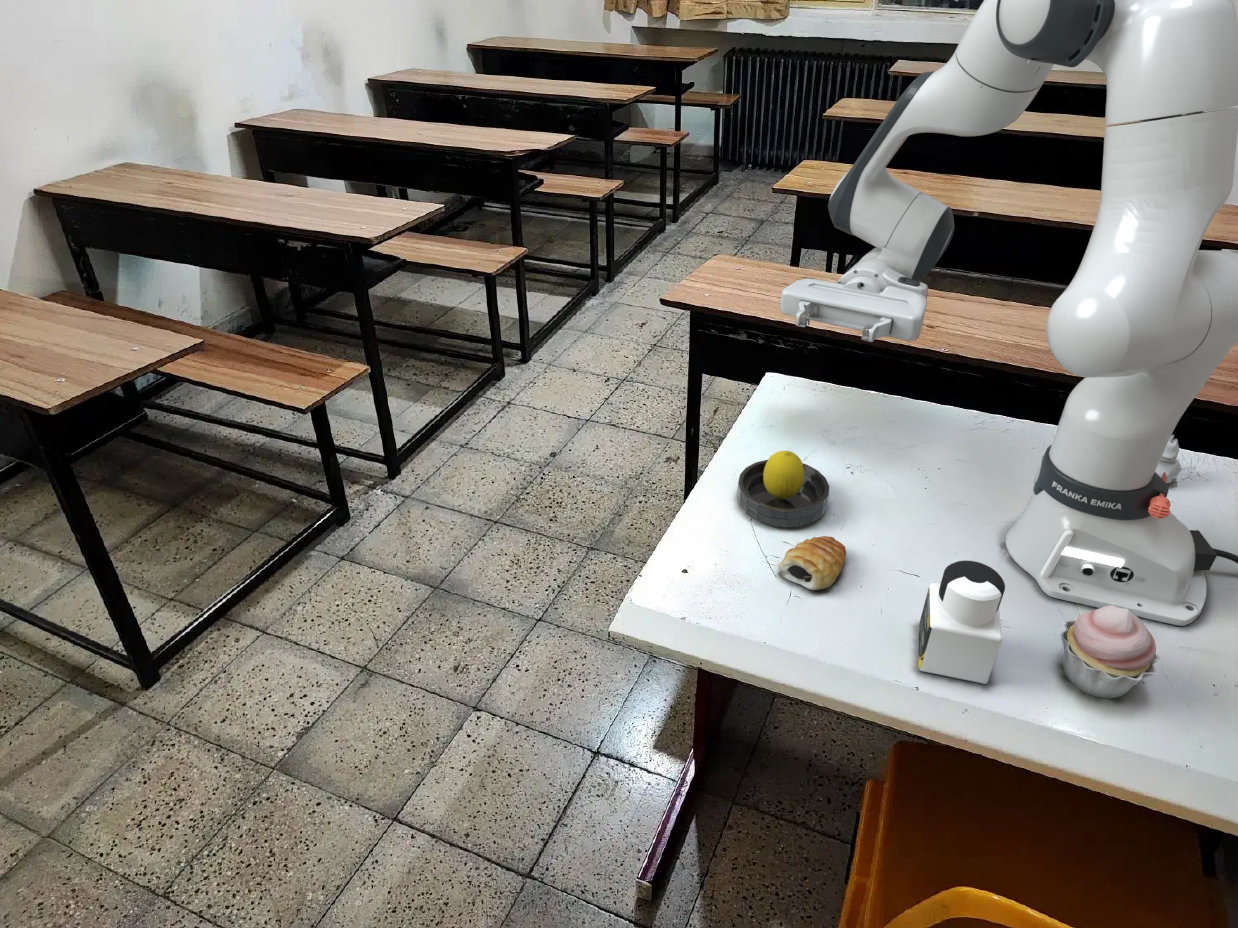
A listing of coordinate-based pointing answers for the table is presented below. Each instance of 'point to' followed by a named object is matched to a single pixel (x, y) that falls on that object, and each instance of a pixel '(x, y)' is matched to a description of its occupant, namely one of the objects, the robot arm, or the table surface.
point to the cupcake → (1108, 651)
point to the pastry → (814, 562)
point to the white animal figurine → (1169, 461)
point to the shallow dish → (782, 511)
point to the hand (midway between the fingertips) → (833, 328)
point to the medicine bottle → (962, 623)
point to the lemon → (783, 474)
